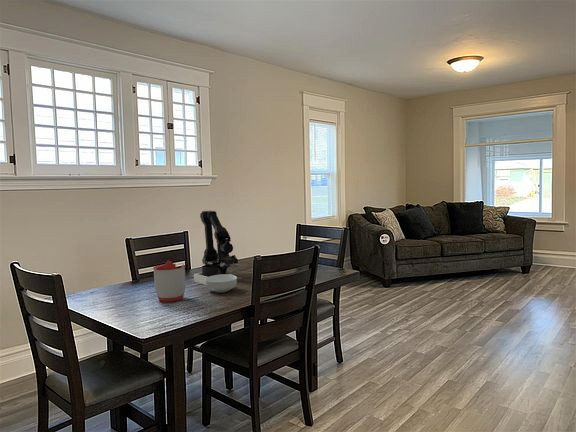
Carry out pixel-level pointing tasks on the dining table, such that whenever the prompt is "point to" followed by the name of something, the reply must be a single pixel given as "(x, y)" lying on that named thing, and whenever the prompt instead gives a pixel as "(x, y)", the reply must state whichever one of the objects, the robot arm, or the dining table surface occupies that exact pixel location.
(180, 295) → the citrus juicer
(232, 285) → the cereal bowl
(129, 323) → the dining table surface
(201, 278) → the tray
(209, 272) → the mug
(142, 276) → the dining table surface
